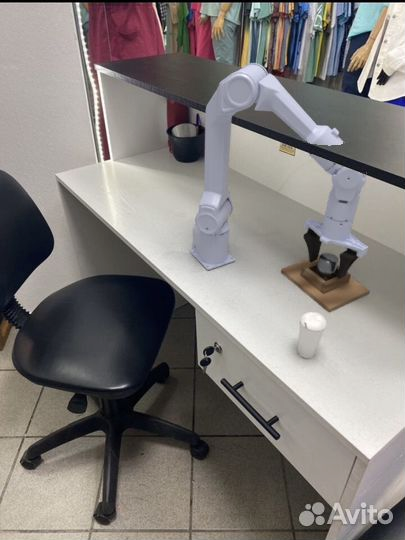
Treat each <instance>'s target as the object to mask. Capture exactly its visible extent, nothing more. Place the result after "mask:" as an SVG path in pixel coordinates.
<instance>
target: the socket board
mask: <svg viewBox="0 0 405 540" xmlns="http://www.w3.org/2000/svg"><path fill="white" fill-rule="evenodd" d="M320 255H321V254H319V256H318V258H317V260H315V261H314V262H312V263H311V262H309V258H307V259H304V260H302V261H299V262H296V263H294V264H291V265H289V266H286V267H283V268H281V269H280V273H281V274H282V275H284V276H285V277H286V278H287V279H288V280H289V281H291V283H293V284H294V285H295V286H297V288H298V289H300V290H301V291H302V292H304V294H306V295H307V296H309V297H310V298H311V299H312V300H313V301H315V302H316V303H317V304H318V305H319V306H321V308H323V309H324V310H325V311H327V312H328V313H331V312H333V311H335V310H338V309H340V308H342V307H344V306H346V305H348V304H350V303H352V302H354V301H356V300H359V299H361V298H363V297H365V296H367V295H369V294H370V291H371V290H369V289H368V288H367V287H365V286H364V285H363V284H362V283H360V282H358V281H357V280H355V279H354V278H353V277H352V274H351V273H350V272H348V271H347V273H346V275H345V276H344V277H342V278H341V279H339V278H337V274H338V270H339V266H340V265H338V264H337V267H336V271H335V275H334V278H333V279H330V280H328V281H325V280H323V279H322V278H321V277H319V276H318V275H317V274H316V270H317V266H318V262H319V257H320Z"/></svg>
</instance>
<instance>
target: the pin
mask: <svg viewBox="0 0 405 540" xmlns="http://www.w3.org/2000/svg"><path fill="white" fill-rule="evenodd" d="M319 255H320V257H319V262H318V266H317V270H316V274H317V275H318V276H319V277H321V278H322V279H323V280H325V281H328V280H330V279H333V278H334V275H335V271H336V267H337V265H338V263H339V258H338V256H336V255H335V254H333V253H330V252H329V253H328V252H324V253H321V254H319Z"/></svg>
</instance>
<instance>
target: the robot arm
mask: <svg viewBox="0 0 405 540" xmlns="http://www.w3.org/2000/svg"><path fill="white" fill-rule="evenodd" d="M253 104H255V108H254V109H253V110H254V111H255V112H256V111H257V112H258V111H259V112H272V113H274V115H276V116H277V117H278V118H279V119H281V120H282V121H283V122H284V123H285V124H286V125H287V126H288V127H290V129H291V130H293V131H294V132H295V133H296V134H297V135H298V136H299V137H300V138H301V139H302V140H303V141H304V140H305V141H307V142H308V143H310V144H317V145H328V146H331V145H341V144H343V142H344V141H343V139H341V137H339V134H340V131H339V130H338V129H337V128H336V127H333V128H331V127H330V126H328V125H317V123H316V122H315V121H314V120H313V119H312V118H311V117H310V115H309V114H308V113H307V112H306V111H305V110H304V109H303V108H302V106H301V105H299V103H298V101H296V99H294V97H292V95H291V94H290V93H289V92H288V91H287V90H286V88H285V87H284V86H283V85H282V84H281V82H280V81H279V80H278V79H277V77H276V76H274V75H273V74H272V73H268V71H267V69H266V68H265V67H264V66H263V65H261V64H259V63H256V62H250V63H247V64H245V65H244V66H243V67H241V68H240V69H238V70H237V71H234V72H232V73H230V74H229V75H227V77H225V78H223V79H222V80H221V81H220V82H219V84H218V86H217V89H216V90H215V92H214V93H213V95H212V97H211V98H210V100H209V101H208V103H207V104H206V107H205V119H204V120H205V122H204V123H205V125H204V126H205V127H204V130H205V131H204V171H203V172H204V175H203V176H204V178H203V180H204V181H203V182H204V183H203V189H204V190H203V193H202V197H201V198H200V201H199V204H198V212H196V213H197V214H196V215H195V217H194V223H195V224H194V225H193V228H192V249H189V252H190V254H191V255H192V256H193V257H194V258H195V259H196V260H197V261H198V262H199V263H200V264H201V265H202V266H203V267H204V268H205V269H206V270H208V271H210V270H211V271H212V270H214V269H217V268H218V267H222V266H225V265H229V264H231V263H233V262H234V263H235V261H236V259H235V258H234V257H233V256H232V255H231V254H230V252H229V244H230V243H229V242H230V223H229V217H230V216H231V215H232V214H233V211H234V205H233V202H232V200H231V191H230V190H229V188H228V186H229V185H228V184H229V167H230V166H229V165H230V153H231V151H230V150H231V134H232V120H233V119H232V117H233V116H234V115H235V114H236V113H238V112H241V111H244V110H246V109H249V108H250V107H252V106H253ZM307 154H308V155H309V156H310V157H311V158H312V159H313V160H314V161H315V162H316V163H317V164H318V165H319V166H320V167H321V168H322V169H323V171H325V172H326V173H327V174H329V175H330V176H331V183H332V187H331V190H330V192H329V195H328V198H327V199H328V200H327V202H326V203H327V204H326V208H325V211H324V212H325V213H324V217H323V222H321V221H318V220H315V219H312V218H309V219H307V220H305V221H304V226H303V229H304V230H306V232H305V233H304V234H303V239H304V241H305V242H304V243H305V244H306V247H307V253H308V259H309V262H311V263H312V262H314V261H315V260H317V258H318V256H319V255H320V250H321V246H322V244H323V243H324V244H326V245H327V244H328V245H329V244H331V245H336V246H340V247H343V248H345V249H346V250H344V251H343V252H341V253H339V265H338V266H339V270H338V274H337V278H339V279H341V278H342V277H344V276H345V275H346V273H347V272H348V271H349V269H350V268H351V266H352V265H353V264H354V263H355V262H356V261H357V260H358V259H362V258H363V257H364V256H366V255H367V253H368V250H369V246H367V245H366V244H364V243H363V242H361V240H359V239H358V238H356V237H355V236H354V235H353V234H352V233H351V231H352V227H353V224H354V223H353V222H354V219H355V216H356V212H357V209H358V205H359V201H360V198H361V195H360V194H361V192H362V188H363V187H364V186H365V184H366V181H367V180H366V177H367V174H366V175H365V174H362V173H360V172H357V171H354V170H352V169H349V168H346V167H344V166H341V165H338V164H336V163H334V162H331V161H329V160H326V159H323V158H321V157H318V156H316V155H313V154H310V153H307Z"/></svg>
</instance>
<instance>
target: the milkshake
mask: <svg viewBox="0 0 405 540" xmlns="http://www.w3.org/2000/svg"><path fill="white" fill-rule="evenodd" d="M299 318H300V319H299V330H298V342H297V354H298V355H299V356H300V357H301V358H304V359H306V360H307V359H313V357H314V356H315V355H316V353H317V350H318V348H319V345H320V342H321V339H322V337H323V335H324V332H325V330H326V328H327V326H328V323H327V322H328V321H327V320H326V319H325V317H324V316H323V315H322V314H321V313H319V312H316V311H307V312H305V313H303V314H302V315H300V317H299Z"/></svg>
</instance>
